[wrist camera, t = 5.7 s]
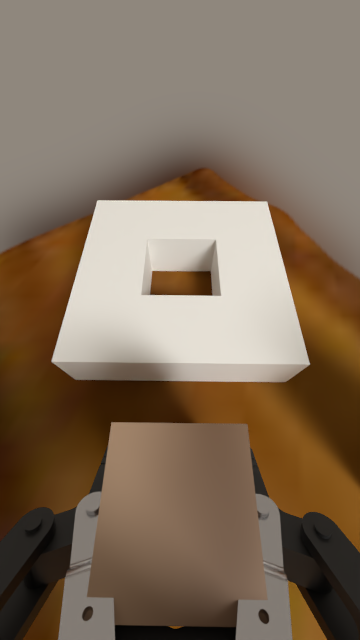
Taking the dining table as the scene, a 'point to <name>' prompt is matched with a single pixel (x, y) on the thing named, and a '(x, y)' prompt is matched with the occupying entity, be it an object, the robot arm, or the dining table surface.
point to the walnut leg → (178, 525)
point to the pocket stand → (181, 297)
